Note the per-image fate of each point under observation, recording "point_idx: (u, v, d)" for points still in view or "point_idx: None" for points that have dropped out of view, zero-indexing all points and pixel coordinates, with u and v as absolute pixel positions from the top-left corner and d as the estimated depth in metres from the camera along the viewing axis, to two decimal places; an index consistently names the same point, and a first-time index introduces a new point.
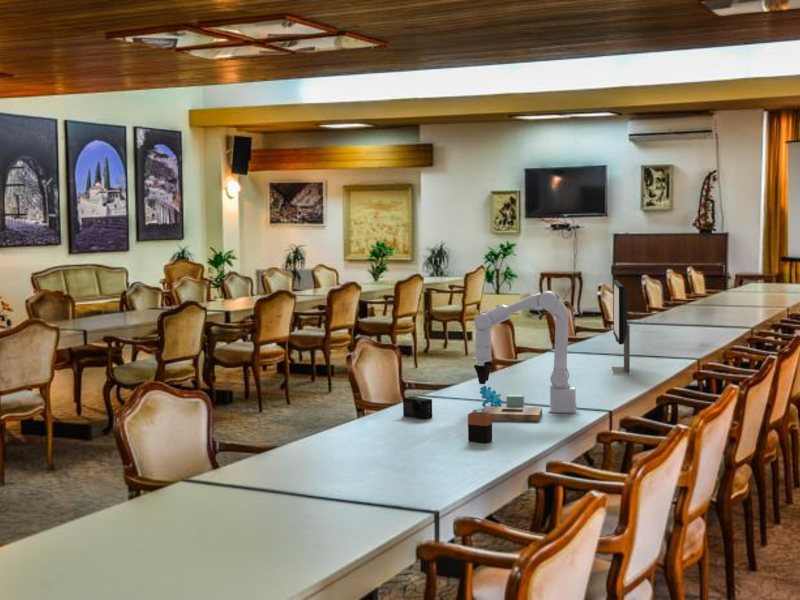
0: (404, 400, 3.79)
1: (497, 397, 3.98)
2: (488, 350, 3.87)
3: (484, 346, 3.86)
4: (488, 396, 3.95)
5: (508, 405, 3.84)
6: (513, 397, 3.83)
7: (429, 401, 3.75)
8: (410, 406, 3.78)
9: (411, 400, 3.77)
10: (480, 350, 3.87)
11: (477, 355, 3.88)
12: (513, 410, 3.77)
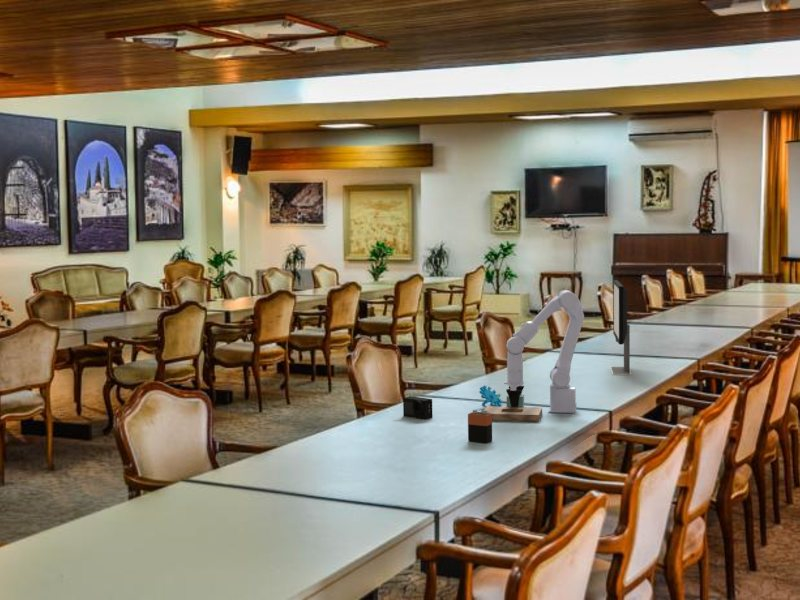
0: (404, 400, 3.80)
1: (497, 397, 3.98)
2: (520, 374, 3.82)
3: (516, 370, 3.81)
4: (488, 396, 3.95)
5: (508, 405, 3.84)
6: None
7: (429, 401, 3.75)
8: (410, 406, 3.78)
9: (411, 400, 3.77)
10: (512, 375, 3.82)
11: (509, 379, 3.83)
12: (513, 410, 3.77)
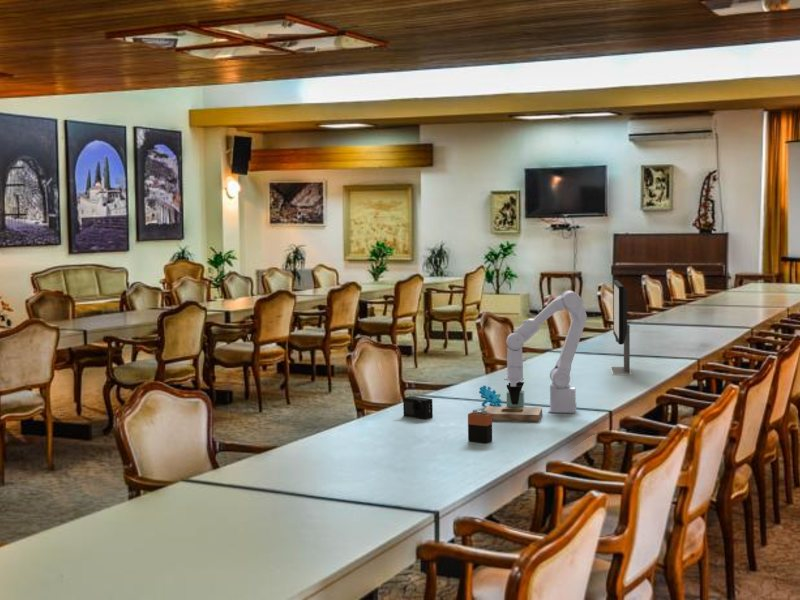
0: (404, 400, 3.80)
1: (497, 397, 3.98)
2: (520, 370, 3.82)
3: (516, 366, 3.81)
4: (487, 396, 3.95)
5: (508, 401, 3.84)
6: None
7: (429, 401, 3.75)
8: (410, 406, 3.78)
9: (411, 400, 3.77)
10: (512, 371, 3.82)
11: (509, 375, 3.83)
12: (513, 410, 3.77)
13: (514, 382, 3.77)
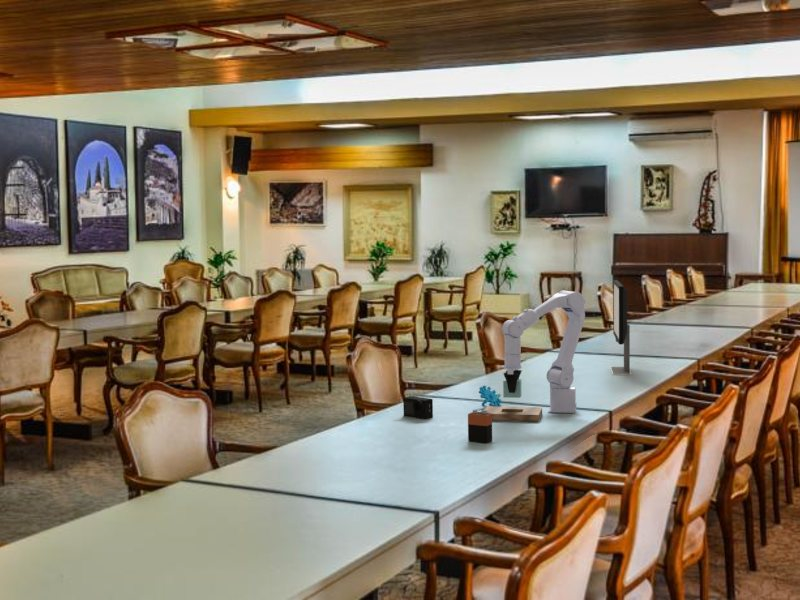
0: (404, 400, 3.80)
1: (496, 397, 3.98)
2: (518, 358, 3.74)
3: (513, 354, 3.73)
4: (487, 396, 3.95)
5: (505, 389, 3.76)
6: None
7: (429, 401, 3.75)
8: (410, 406, 3.78)
9: (412, 400, 3.77)
10: (509, 358, 3.74)
11: (506, 363, 3.75)
12: (513, 410, 3.77)
13: (511, 370, 3.69)
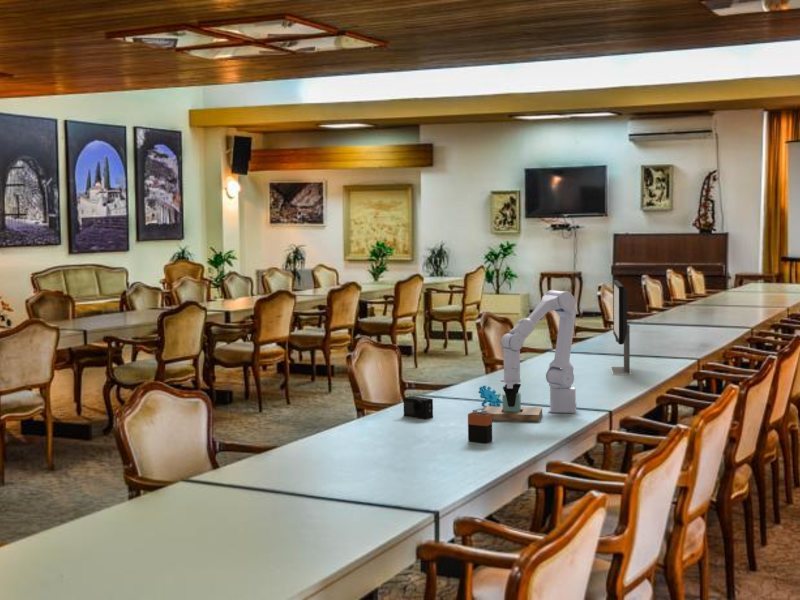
0: (404, 399, 3.80)
1: (496, 397, 3.98)
2: (517, 372, 3.71)
3: (513, 368, 3.70)
4: (487, 396, 3.95)
5: (504, 403, 3.73)
6: None
7: (430, 401, 3.76)
8: (411, 406, 3.78)
9: (412, 400, 3.78)
10: (508, 372, 3.71)
11: (505, 377, 3.72)
12: None
13: (511, 384, 3.67)
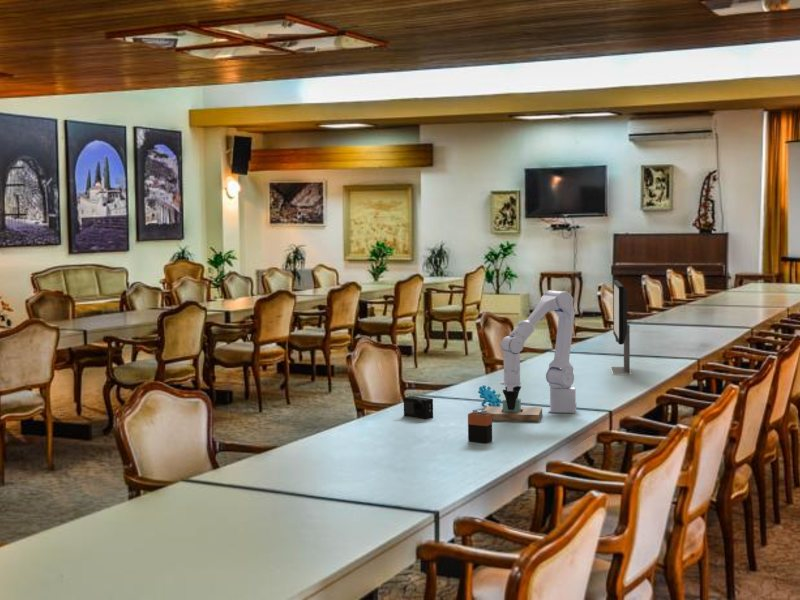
0: (404, 399, 3.80)
1: (496, 397, 3.98)
2: (517, 374, 3.71)
3: (513, 370, 3.71)
4: (486, 396, 3.95)
5: (504, 409, 3.73)
6: None
7: (430, 400, 3.76)
8: (411, 406, 3.78)
9: (412, 400, 3.78)
10: (508, 375, 3.71)
11: (505, 380, 3.72)
12: None
13: (511, 386, 3.67)
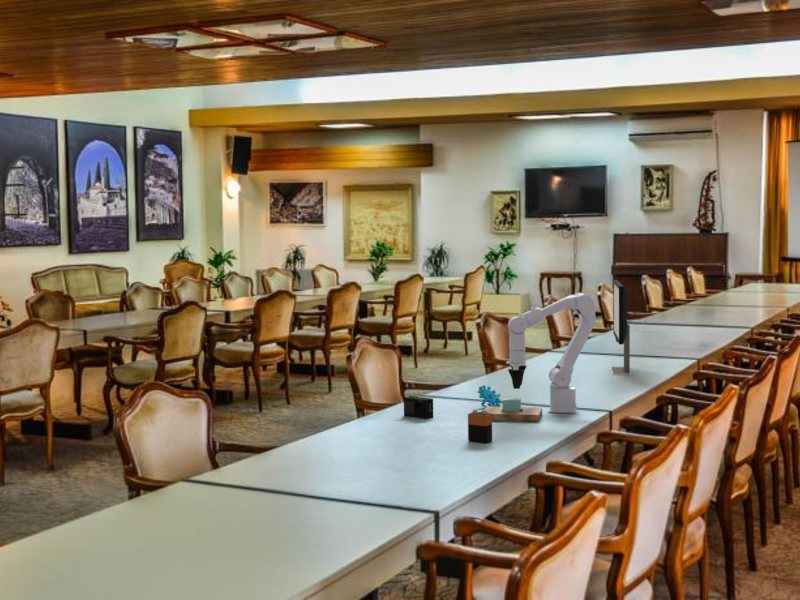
0: (404, 399, 3.80)
1: (496, 397, 3.99)
2: (522, 354, 3.80)
3: (518, 350, 3.79)
4: (486, 396, 3.96)
5: (504, 409, 3.73)
6: (509, 401, 3.73)
7: (430, 400, 3.76)
8: (411, 406, 3.78)
9: (412, 400, 3.78)
10: (514, 354, 3.80)
11: (511, 359, 3.81)
12: None
13: (516, 365, 3.75)
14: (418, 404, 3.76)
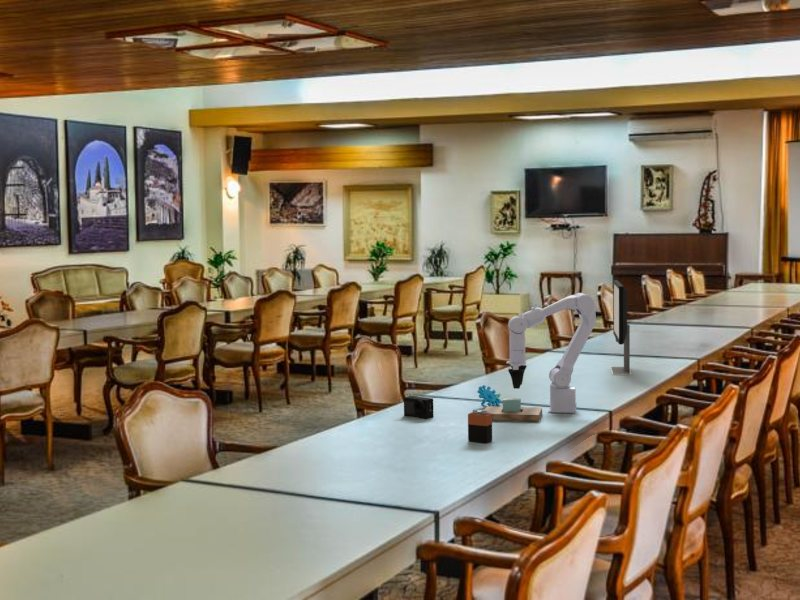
0: (404, 399, 3.80)
1: (496, 397, 3.99)
2: (522, 354, 3.80)
3: (518, 350, 3.80)
4: (486, 396, 3.96)
5: (504, 409, 3.73)
6: (509, 401, 3.73)
7: (430, 400, 3.76)
8: (411, 405, 3.79)
9: (412, 399, 3.78)
10: (514, 354, 3.80)
11: (511, 359, 3.81)
12: None
13: (516, 365, 3.76)
14: (418, 404, 3.76)
